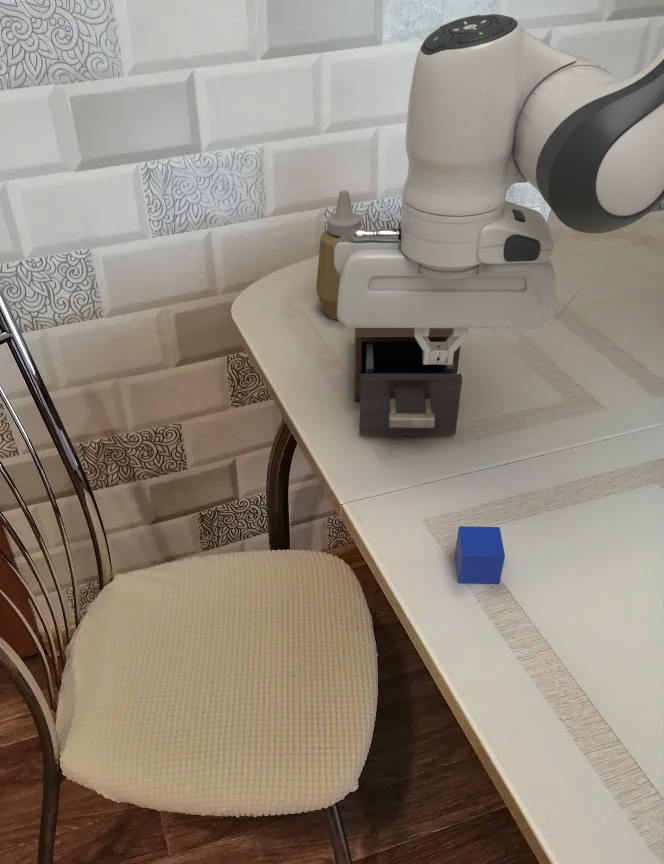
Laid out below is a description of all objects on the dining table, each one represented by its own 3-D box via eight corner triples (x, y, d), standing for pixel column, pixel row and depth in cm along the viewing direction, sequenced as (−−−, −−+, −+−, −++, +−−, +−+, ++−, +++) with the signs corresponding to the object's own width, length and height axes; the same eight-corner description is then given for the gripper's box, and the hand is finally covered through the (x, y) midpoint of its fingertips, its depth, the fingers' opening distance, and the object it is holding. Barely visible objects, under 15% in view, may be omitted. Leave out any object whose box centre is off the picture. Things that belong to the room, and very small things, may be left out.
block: (494, 554, 81) (499, 526, 78) (499, 584, 78) (505, 556, 75) (454, 554, 81) (458, 525, 79) (458, 583, 78) (462, 555, 76)
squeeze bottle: (305, 311, 120) (301, 192, 108) (344, 293, 123) (345, 176, 111) (341, 331, 115) (342, 209, 103) (381, 312, 119) (386, 191, 107)
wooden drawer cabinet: (453, 402, 101) (461, 336, 95) (354, 402, 102) (355, 336, 95) (444, 342, 112) (451, 279, 105) (354, 342, 113) (355, 279, 106)
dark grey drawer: (459, 458, 91) (466, 403, 86) (359, 458, 92) (360, 402, 87) (446, 371, 105) (451, 319, 99) (359, 371, 105) (360, 319, 100)
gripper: (332, 244, 69) (332, 378, 78) (572, 243, 68) (544, 380, 77) (334, 215, 74) (334, 344, 83) (559, 213, 72) (534, 345, 81)
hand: (437, 361), depth 80 cm, fingers closed
